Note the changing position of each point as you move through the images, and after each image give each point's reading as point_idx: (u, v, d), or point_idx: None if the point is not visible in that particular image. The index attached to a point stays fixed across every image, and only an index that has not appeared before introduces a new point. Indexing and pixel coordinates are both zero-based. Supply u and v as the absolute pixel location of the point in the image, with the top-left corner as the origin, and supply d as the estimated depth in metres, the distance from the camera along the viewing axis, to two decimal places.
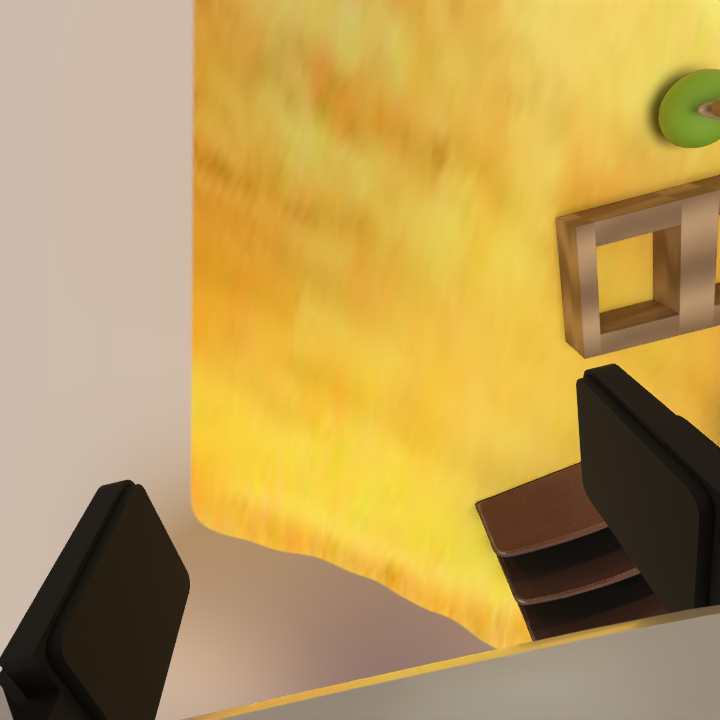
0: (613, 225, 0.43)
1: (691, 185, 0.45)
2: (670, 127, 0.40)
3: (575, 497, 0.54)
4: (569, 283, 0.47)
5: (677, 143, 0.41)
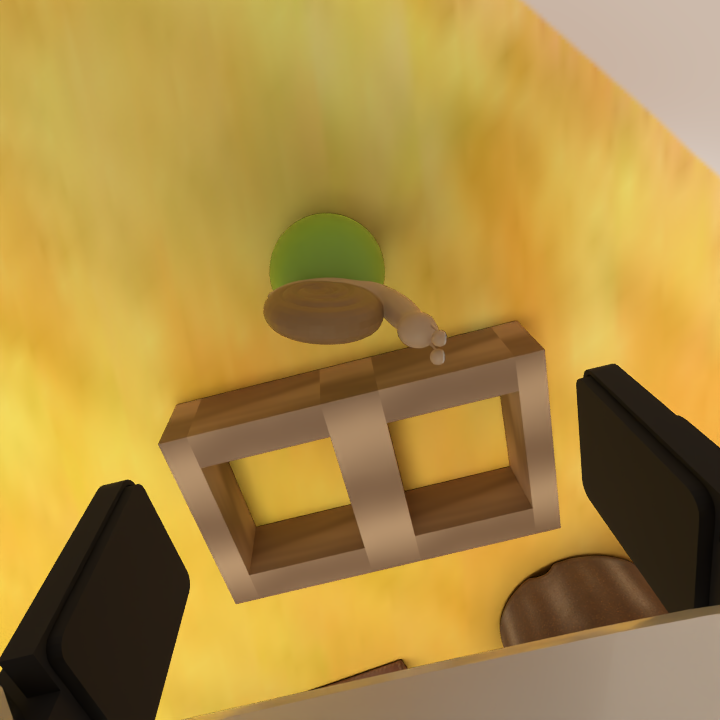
0: (218, 441, 0.27)
1: (367, 364, 0.30)
2: None
3: None
4: None
5: None
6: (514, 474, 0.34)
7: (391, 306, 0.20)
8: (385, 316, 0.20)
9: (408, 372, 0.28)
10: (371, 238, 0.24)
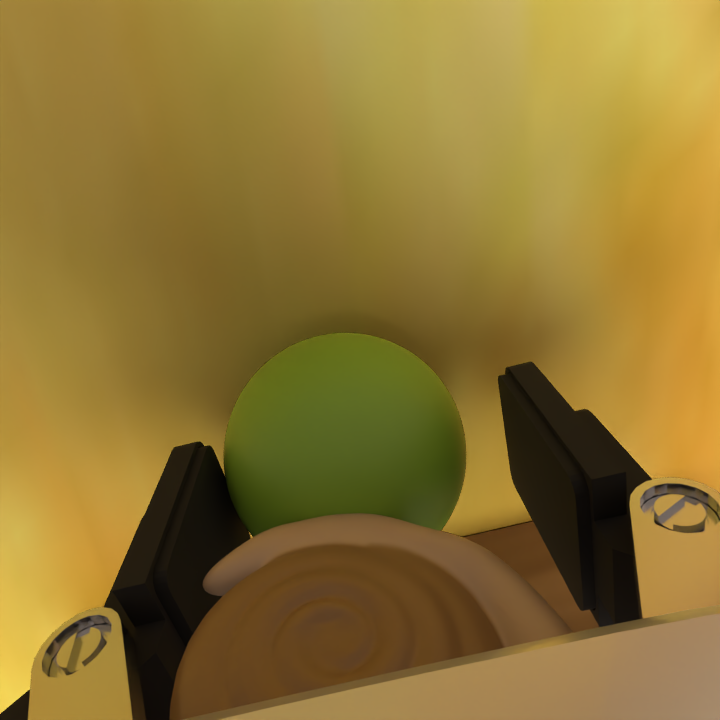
0: None
1: None
2: None
3: None
4: None
5: None
6: None
7: None
8: None
9: None
10: (442, 395, 0.11)
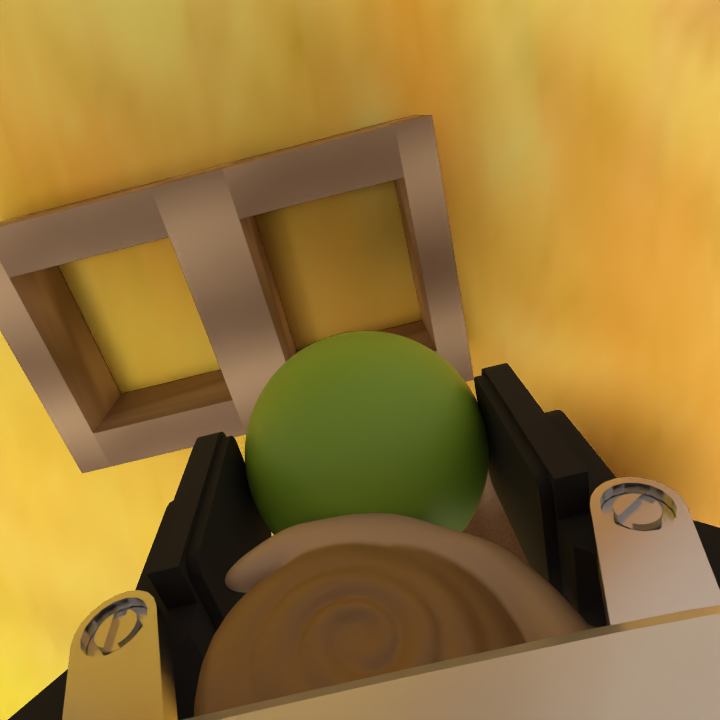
0: (26, 237, 0.22)
1: (228, 163, 0.24)
2: None
3: None
4: None
5: None
6: (424, 325, 0.28)
7: None
8: None
9: (267, 156, 0.22)
10: (467, 395, 0.11)
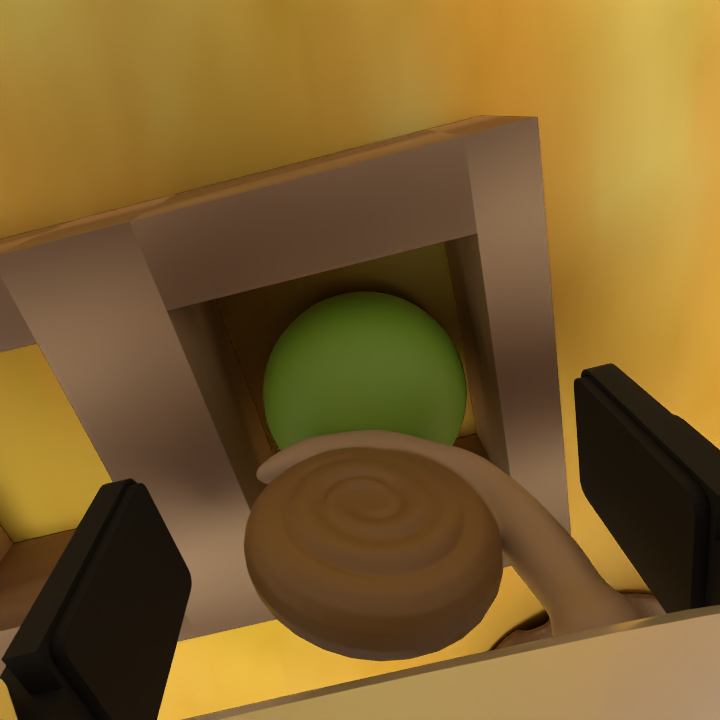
0: None
1: (159, 201, 0.14)
2: None
3: None
4: None
5: None
6: (483, 447, 0.18)
7: (522, 540, 0.09)
8: (502, 550, 0.10)
9: (220, 193, 0.12)
10: (450, 344, 0.13)
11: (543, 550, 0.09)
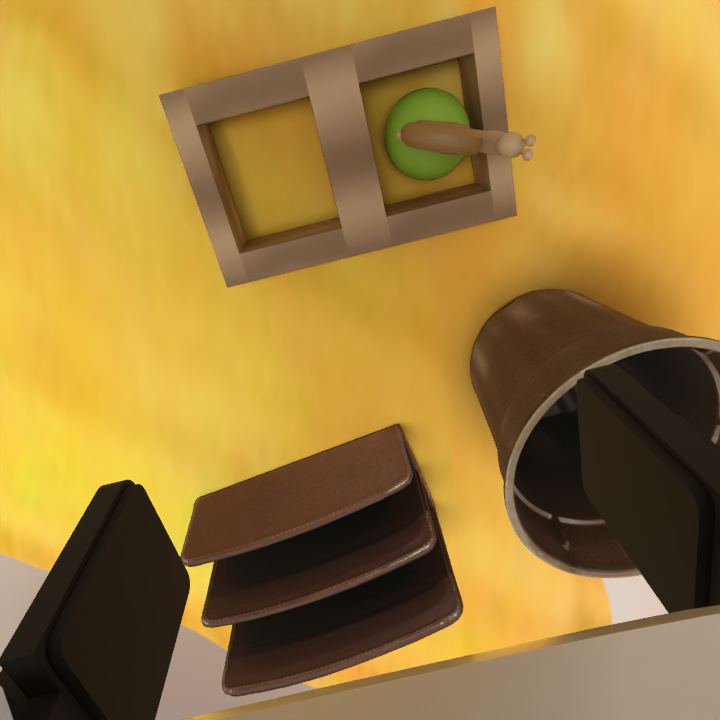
0: (211, 94, 0.31)
1: None
2: (390, 154, 0.34)
3: (292, 494, 0.44)
4: None
5: (404, 173, 0.35)
6: (477, 183, 0.37)
7: (489, 136, 0.29)
8: (482, 145, 0.29)
9: None
10: (463, 107, 0.33)
11: (495, 134, 0.29)
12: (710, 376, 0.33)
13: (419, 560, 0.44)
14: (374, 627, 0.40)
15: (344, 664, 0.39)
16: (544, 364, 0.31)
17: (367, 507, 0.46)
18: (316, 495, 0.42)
